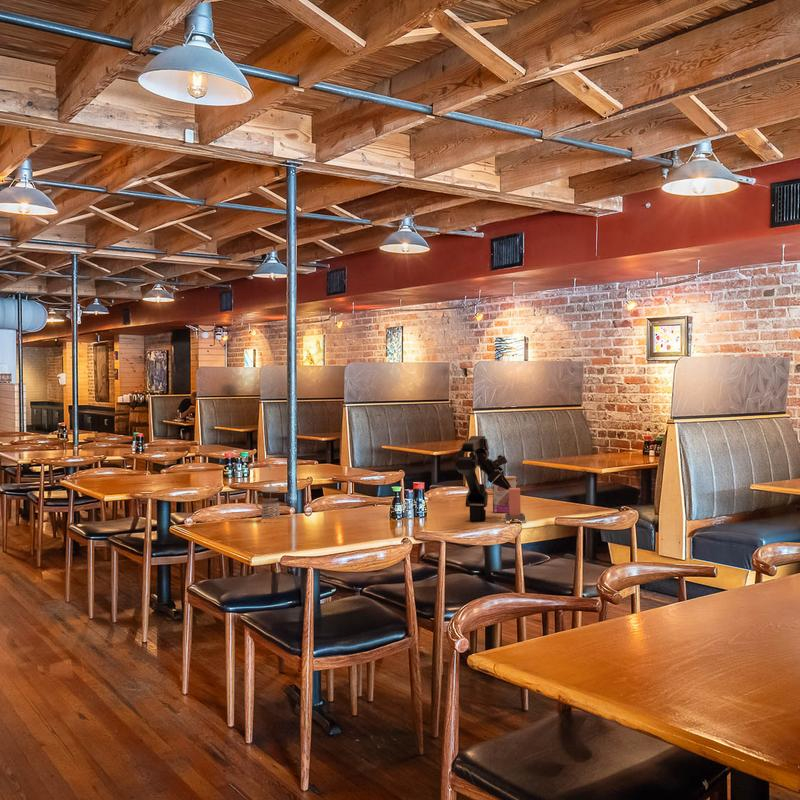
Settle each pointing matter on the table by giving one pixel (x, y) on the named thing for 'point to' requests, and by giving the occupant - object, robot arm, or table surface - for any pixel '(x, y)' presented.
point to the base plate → (515, 517)
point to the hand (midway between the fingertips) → (509, 487)
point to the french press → (269, 503)
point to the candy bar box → (503, 496)
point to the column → (514, 502)
